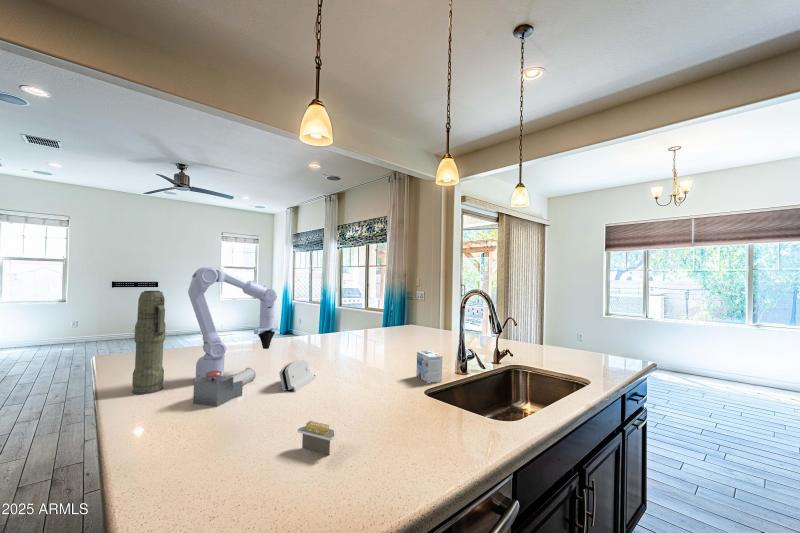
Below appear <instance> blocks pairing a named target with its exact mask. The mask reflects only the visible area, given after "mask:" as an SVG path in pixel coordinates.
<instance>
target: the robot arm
mask: <svg viewBox="0 0 800 533" xmlns="http://www.w3.org/2000/svg"><path fill="white" fill-rule="evenodd" d="M257 282H258V281H256V280H248V281H244V280H242V279H241V278H238V277H236V276H234V275H232V274H230V273H228V272H225V271H223V270H220V269H215V268H213V267H199V268H198V269H197V270H196V271H195V272H194V273H193V274H192V277H191V280H190V284H189V287H188V290H187V295H188V297H189V300H190V302H191V306H192V308H193V312H194V314H195V317H196V320H197V323H198V326H199V329H200V331H201V334H202V341H203V345H202V350H203V351H204V353H205V354H204V355H203V356H201V357H199V358H198V360H197V361H196V364H195V379H194V380H193V382H194V381H195V380H198V379H200V378H203V377H206V376H205V373H207V372H210V371H221V375H220V376H225V375H224V374H225V354H226V352H227V346H226V344H225V343H224V342H223V341H222V339H221V336H220V335H219V333H218V331H217V329H216V326H215V323H214V320H213V317H212V315H211V312H210V311H211V310H210V309H209V306H208V303H207V299H206V296H205V293H206V292H207V290H208V289H209V288H210V287H211V286H212V285H213V284H214V283H226V284H228V285H231V286H234V287H236V288H239V289H242V292H243V294H245V295H247V296H250V297H252V298H255V299H257V300H259V301H260V304H259V305H260V306H259V307H260V308H259V326H258V327H257V328H255V329H253V335H257V336H258V337H259V339H260V343H261V346H262V349H263V350H268V349H270V346H271V341H272V339H273V337H274V336H275V334H276V331H275V330H278V329H279V325H278V324H275V303H276V302H275V301H276V300H277V298H278V295H277V293H276V291H275V290H274V289H271V288H268V286H267V285H261V284H259V283H257Z"/></svg>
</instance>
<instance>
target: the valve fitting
mask: <svg viewBox="0 0 800 533" xmlns="http://www.w3.org/2000/svg"><path fill="white" fill-rule="evenodd" d="M220 375H221V371H210V372H207V373H205V376H206V377H203V378H200V379H198V380H196V379H194V380H195V381H194V380H193V394H192V396H193V397H192V404H193V405H199V406H200V405H201V406H207V407H208V406H209V407H216V408H217V407H220V406H221V405H223V404H226V403H227V402H229V401H231V400H233V399H236V398H239V397H243V389H244V386H243V381H238V382H234V383H233V377H231V376H227V375H224V376H220Z"/></svg>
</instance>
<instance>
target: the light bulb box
mask: <svg viewBox="0 0 800 533" xmlns="http://www.w3.org/2000/svg"><path fill="white" fill-rule="evenodd" d="M415 373H416V374H415V376H416V377H417V376H418V377H417V378H418V379H420V378H421V379H420V380H422V379H423V380H424V381H423V380H422V381H423V382H425V381H426V382H427V383H426V382H425V383H426V384H432V383H431V382H437V383H442V382H443V355H442V354H439V353H438V352H434V351H433V350H417V352H416V372H415Z"/></svg>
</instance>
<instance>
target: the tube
mask: <svg viewBox="0 0 800 533" xmlns="http://www.w3.org/2000/svg"><path fill="white" fill-rule="evenodd" d="M256 374H257V372H256V370H255V369H253V368H251V367H245V369H243V370H242V371H240V372H237V373H235V374H234V375H231V376H230V377H233V383H234V382H238V381H243V387H244V386H245V385H247V384H249V383H251V382H253V381H254V380H255V379H256V376H257V375H256Z"/></svg>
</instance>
